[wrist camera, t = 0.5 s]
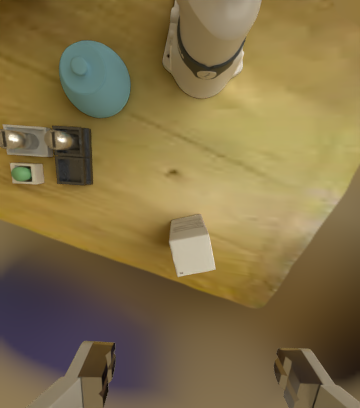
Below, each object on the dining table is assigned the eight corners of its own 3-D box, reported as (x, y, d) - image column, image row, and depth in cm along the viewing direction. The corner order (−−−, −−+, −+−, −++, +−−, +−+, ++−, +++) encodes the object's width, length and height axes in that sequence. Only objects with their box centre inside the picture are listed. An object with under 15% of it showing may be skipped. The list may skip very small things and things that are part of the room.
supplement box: (207, 242, 58) (216, 271, 43) (177, 247, 58) (176, 278, 44) (201, 213, 56) (209, 233, 41) (170, 219, 56) (167, 241, 41)
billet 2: (64, 133, 49) (42, 129, 41) (80, 134, 49) (62, 130, 41) (65, 149, 50) (44, 148, 42) (81, 150, 50) (63, 150, 42)
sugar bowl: (77, 122, 50) (48, 113, 38) (63, 54, 46) (26, 21, 35) (136, 116, 49) (124, 104, 38) (127, 47, 46) (110, 12, 35)
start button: (18, 166, 50) (10, 166, 47) (32, 167, 50) (24, 167, 48) (20, 179, 51) (12, 180, 48) (33, 180, 51) (26, 181, 48)
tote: (10, 125, 50) (3, 124, 47) (50, 128, 50) (45, 127, 48) (14, 154, 51) (7, 154, 49) (53, 156, 51) (48, 156, 49)
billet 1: (22, 132, 50) (-8, 128, 42) (38, 133, 50) (12, 129, 42) (24, 149, 51) (-4, 148, 43) (40, 150, 51) (14, 149, 43)
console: (19, 162, 52) (9, 162, 49) (42, 163, 52) (34, 164, 49) (21, 181, 53) (12, 182, 50) (44, 182, 53) (36, 184, 50)
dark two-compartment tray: (58, 126, 50) (49, 124, 46) (90, 129, 50) (83, 127, 46) (63, 182, 53) (54, 184, 50) (93, 183, 53) (86, 186, 50)
